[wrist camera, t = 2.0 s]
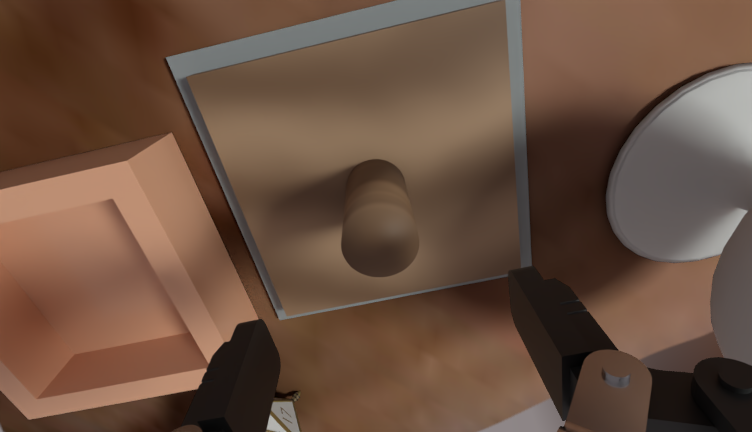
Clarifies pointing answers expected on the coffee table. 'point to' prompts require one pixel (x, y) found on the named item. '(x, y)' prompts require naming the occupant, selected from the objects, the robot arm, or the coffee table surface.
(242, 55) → the mat
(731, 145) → the chalice
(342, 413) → the coffee table surface
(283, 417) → the game die
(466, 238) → the lid
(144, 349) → the pink square tray
